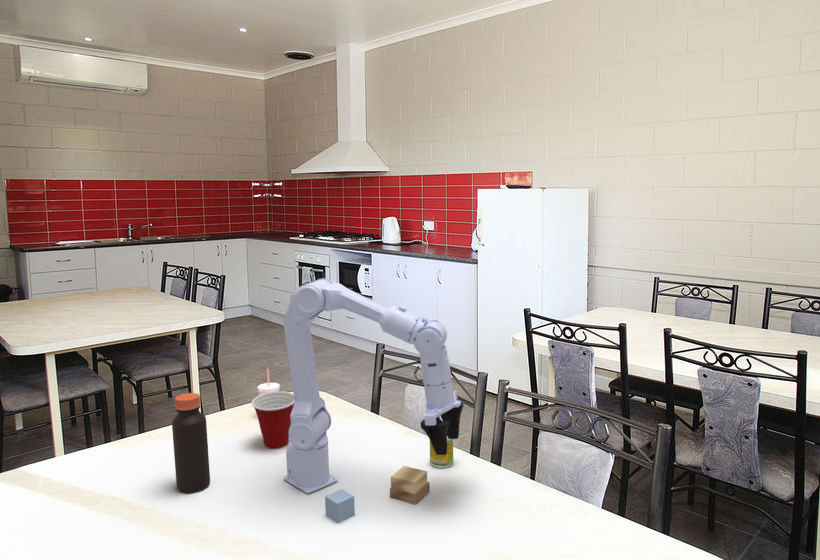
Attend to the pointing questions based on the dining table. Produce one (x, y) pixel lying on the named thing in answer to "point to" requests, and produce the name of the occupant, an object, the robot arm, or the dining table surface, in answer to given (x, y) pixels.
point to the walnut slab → (408, 496)
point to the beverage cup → (268, 386)
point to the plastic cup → (274, 417)
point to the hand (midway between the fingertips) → (447, 446)
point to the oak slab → (409, 479)
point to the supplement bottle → (442, 456)
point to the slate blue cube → (339, 506)
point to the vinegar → (190, 445)
